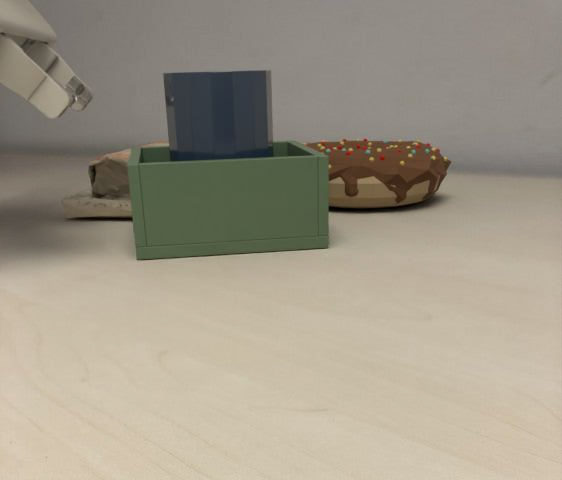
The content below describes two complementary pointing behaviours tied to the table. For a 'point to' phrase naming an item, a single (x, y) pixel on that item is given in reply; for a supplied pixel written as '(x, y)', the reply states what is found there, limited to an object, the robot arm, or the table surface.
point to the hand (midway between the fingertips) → (77, 107)
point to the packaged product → (105, 188)
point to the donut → (381, 172)
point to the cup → (219, 115)
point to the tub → (228, 202)
